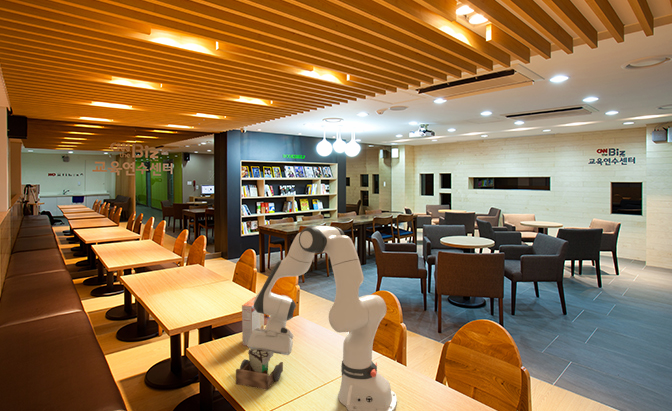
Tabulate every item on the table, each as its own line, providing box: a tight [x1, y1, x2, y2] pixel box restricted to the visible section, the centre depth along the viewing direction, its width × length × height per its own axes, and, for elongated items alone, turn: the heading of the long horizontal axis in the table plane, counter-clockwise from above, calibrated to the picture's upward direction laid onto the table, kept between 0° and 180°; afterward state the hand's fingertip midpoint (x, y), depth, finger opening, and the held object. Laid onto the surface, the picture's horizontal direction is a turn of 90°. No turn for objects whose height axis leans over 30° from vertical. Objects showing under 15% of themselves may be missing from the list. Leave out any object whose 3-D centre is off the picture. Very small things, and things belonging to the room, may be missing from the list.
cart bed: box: [235, 358, 284, 391], centre depth 152 cm, size 16×15×6 cm
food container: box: [247, 348, 271, 375], centre depth 153 cm, size 12×6×10 cm, turn 43°
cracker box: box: [241, 296, 265, 347], centre depth 186 cm, size 14×6×21 cm, turn 166°
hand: (264, 361), depth 155 cm, fingers closed
